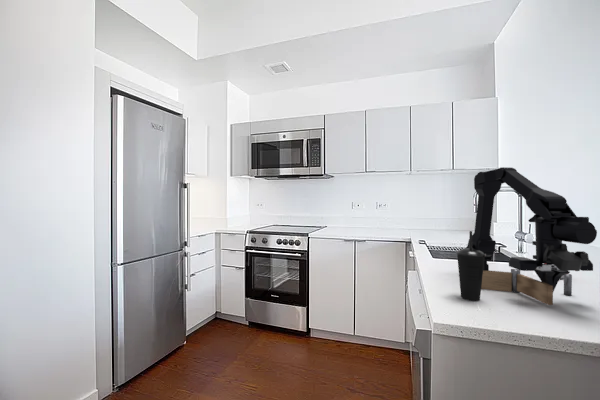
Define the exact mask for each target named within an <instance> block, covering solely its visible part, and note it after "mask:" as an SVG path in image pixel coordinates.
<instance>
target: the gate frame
mask: <svg viewBox="0 0 600 400" xmlns="http://www.w3.org/2000/svg"><path fill="white" fill-rule="evenodd" d="M517 274H521V270H518V269H515V268H511V269H510V271H501V270H500V271H499V270H483V276H482V285H481V290H489V291H490V290H491V291H497V292H498V291H499V292H510V293H515V294H520V293H521V292H519V291H517ZM572 283H573V275H572V274H570V273H569V274H565V275H564V279H563V296H566V297H567V296H568V297H571V296H572V295H573V294H572V293H573V292H572V291H573V289H572V288H573V284H572Z"/></svg>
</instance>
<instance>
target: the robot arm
mask: <svg viewBox="0 0 600 400" xmlns="http://www.w3.org/2000/svg"><path fill="white" fill-rule="evenodd" d="M473 181H474V182H473V184H474V185H473V186H474V190H475V192H476V194H477V195H478V196H477V204H476V205H477V206H476V214H475V225H474V232H473V233H472V249H477V250H479V251H481V252H483V253H485V254H486V256H485V259H484V268H483V270H489V263H488V261H492V259H493V256H494V254H495V252H496V245H497V243H496V240H494V239H493V237H492V236H491V227H492V221H493V211H494V210H493V209H494V203H495V197H496V196H497V194H498V193H499V192H500V190H501V188H502V185H503V184H506V185H507V186H508V187H510V188H511V189H512V190H513V191H515V192H516V193H517V194H518V195H520V196H521V197H523V199H525V204H526V206H527V207H528V209H529V210H530V211H531V213H533V214H534V215H533V216H532V217H530V218H529V219H528V222H529V223H534V226H535V227H534V229H535V231H534V232H535V235H534V236H535V240H532V242H531V243H532V246H535V254H533V255H532V259H531V258H528V257H525V256H515V257H514V256H512V257H511V258H509V260H508V267H510V268H512V269H518V270H520V271H522V272H523V271H524V272H535V274H536V275H537V277H538V278H539V281H541V282H544V283H546V284H549V285H552V286H553V293H554V291H555V289H556V287H557V285H558V282H559V281H560V280H561V279H560V278H561V277H562V276H563V275H565V274H570V273H571V271H573V272H574V271H575V272H580V271H582V272H585V271H586V272H588V271H590V272H591V271H593V272H594V264H593V262H592V261H591V260H590V259H589V253H587V252H586V251H581V250H579V251H575V252H574V251H569V250H568V246H567V243H563V242H568V243H575V244H581V245H590V244H592V243H594V241H595V240H596V238H597V234H598V231H597V229H596V227H595V226H594V224H593V223H592V222H591V221H590V217H589V216H578V215H576V213H575V212H574V211H573V210H572V209H571V207H570V206H569V204H568V202H567V199H566V198H565V197H564V196H563V195H560V194H558V193H556V192H554V191H550V190H547V189H544V188H541V187H539V186H538V185H537V184H535V183H534V182H533V181H531V180H529V179H528V178H527V177H525V176H524V174H521V173H520V172H518V171H517V169H516V168H514V167H498V168H496V169H492V170H487V171H479V172H477V174H475V176H474V179H473ZM465 248H469V240H468V242H467V245H466V247H465ZM545 263H546V264H545ZM489 271H490V270H489Z"/></svg>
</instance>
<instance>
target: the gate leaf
mask: <svg viewBox="0 0 600 400" xmlns="http://www.w3.org/2000/svg"><path fill="white" fill-rule="evenodd" d="M517 291H519V292H520V293H522V294H523V295H526V296H528V297H530V298H533V299H534V300H537V301H539V302H540V303H543V304H546V305H548V306H553V305H554V292H553V286H552V285H549V284H546V283H544V282H541V280H538V279H535V278H533V277H529V276H527V275H524V274H521V273H520V274H517Z"/></svg>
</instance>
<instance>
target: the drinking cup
mask: <svg viewBox="0 0 600 400" xmlns="http://www.w3.org/2000/svg"><path fill="white" fill-rule="evenodd" d="M472 235H473V230H469V239H468V241H469V248H466V247H465V248H461V249H459V250H456V252H455V254H456V255H457V256H456V257H457V258H456V259H457V266H458V267H457V268H458V277H459V290H460V297H461V298H462V299H463V300H465V301H470V302H479V301H480V300H481V294H482V293H481V291H482V289H481V285H482V276H483V268H484V259H485V256H486V254H485V253H483V252H481V251H479V250H477V249H472Z"/></svg>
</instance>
